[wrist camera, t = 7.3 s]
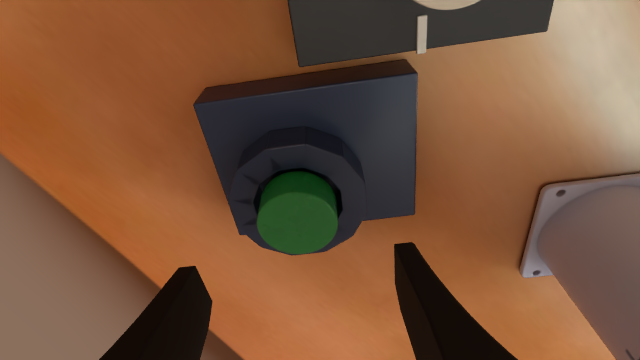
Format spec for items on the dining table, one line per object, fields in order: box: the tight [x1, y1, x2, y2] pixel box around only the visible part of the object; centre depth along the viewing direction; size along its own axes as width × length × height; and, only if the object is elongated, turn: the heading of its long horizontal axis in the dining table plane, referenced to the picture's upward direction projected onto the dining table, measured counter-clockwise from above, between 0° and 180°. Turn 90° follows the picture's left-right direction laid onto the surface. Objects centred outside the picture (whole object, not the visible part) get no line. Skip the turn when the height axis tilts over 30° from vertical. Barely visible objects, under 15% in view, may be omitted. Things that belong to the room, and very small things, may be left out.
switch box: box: [193, 60, 418, 255], centre depth 18 cm, size 10×8×4 cm
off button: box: [257, 171, 338, 254], centre depth 16 cm, size 4×4×2 cm
